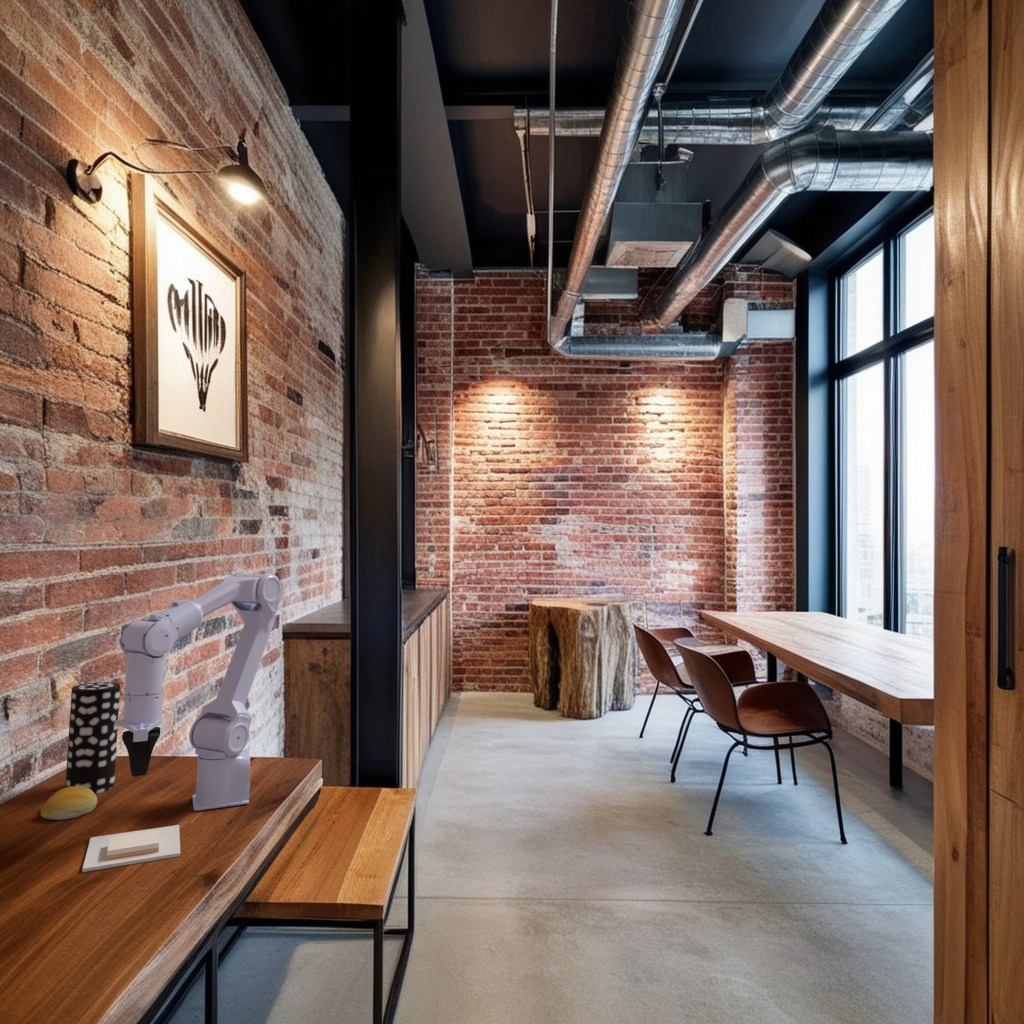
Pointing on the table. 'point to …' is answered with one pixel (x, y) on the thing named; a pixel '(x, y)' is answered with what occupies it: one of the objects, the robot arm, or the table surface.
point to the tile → (133, 844)
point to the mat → (98, 856)
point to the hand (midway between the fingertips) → (139, 774)
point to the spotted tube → (93, 736)
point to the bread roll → (69, 803)
